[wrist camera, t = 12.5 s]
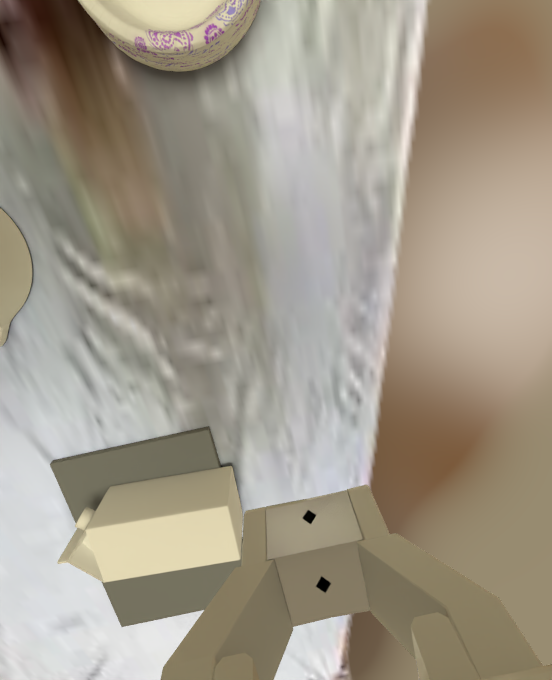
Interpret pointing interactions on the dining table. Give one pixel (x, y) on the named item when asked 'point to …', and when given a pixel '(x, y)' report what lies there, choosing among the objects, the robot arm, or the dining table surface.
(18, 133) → the dining table surface
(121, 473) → the mat
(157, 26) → the paper bowls
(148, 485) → the milk carton
